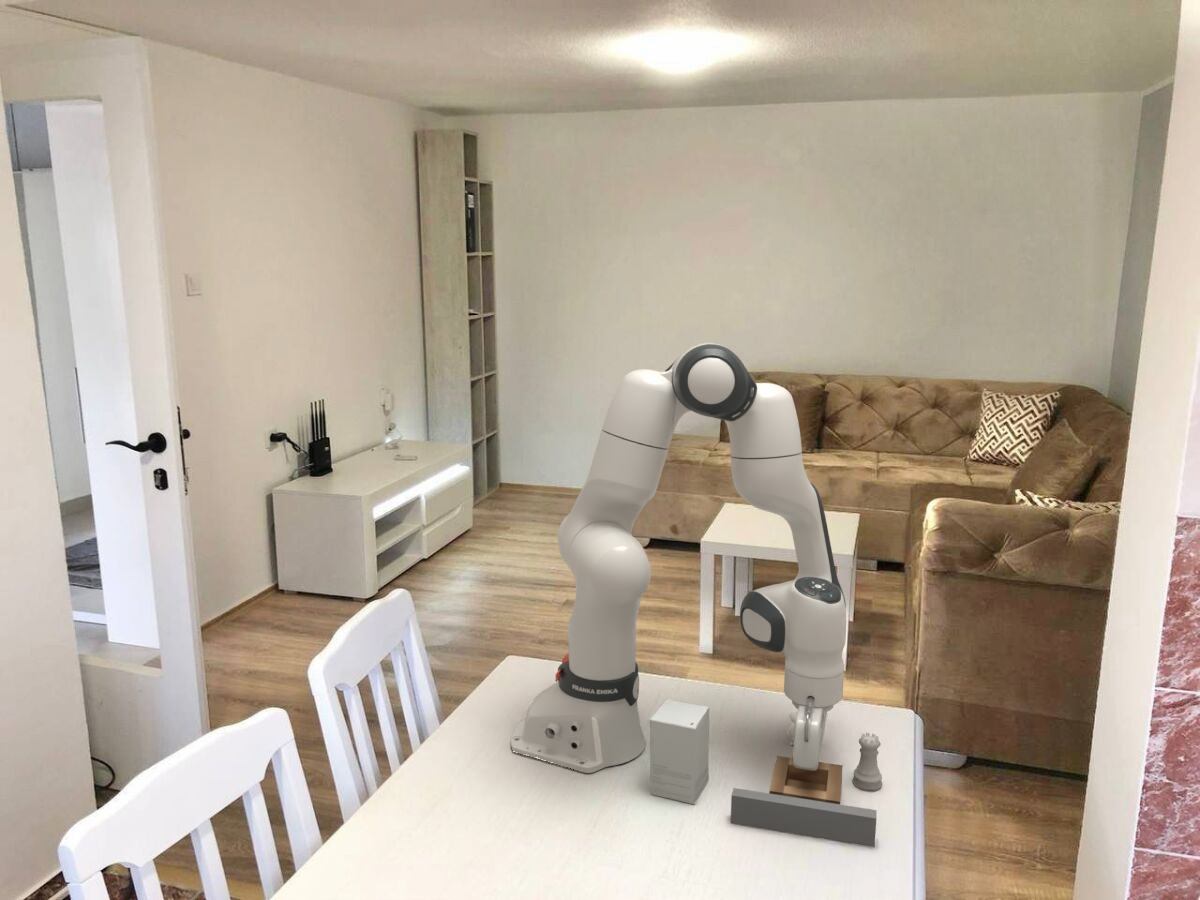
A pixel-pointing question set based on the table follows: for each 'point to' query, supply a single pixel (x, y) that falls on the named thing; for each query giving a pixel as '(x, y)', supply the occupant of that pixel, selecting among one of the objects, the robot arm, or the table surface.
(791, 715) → the rabbit figurine
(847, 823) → the backstop board
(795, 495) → the robot arm
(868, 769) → the rook chess piece
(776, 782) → the socket block
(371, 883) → the table surface
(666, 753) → the supplement box
